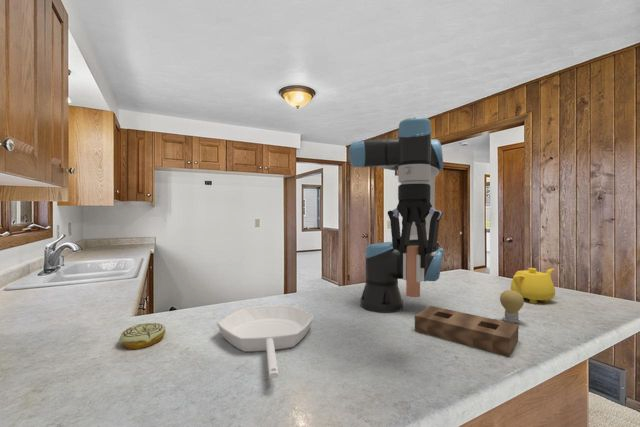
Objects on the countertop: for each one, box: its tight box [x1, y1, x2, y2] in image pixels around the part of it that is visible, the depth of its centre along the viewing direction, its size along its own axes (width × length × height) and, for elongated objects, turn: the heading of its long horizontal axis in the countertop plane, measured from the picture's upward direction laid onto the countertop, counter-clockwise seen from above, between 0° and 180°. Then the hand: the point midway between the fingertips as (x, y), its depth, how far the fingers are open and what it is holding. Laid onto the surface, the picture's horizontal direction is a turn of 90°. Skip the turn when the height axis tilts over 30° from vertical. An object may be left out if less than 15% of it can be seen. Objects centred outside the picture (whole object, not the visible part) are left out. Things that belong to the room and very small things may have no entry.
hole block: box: [414, 305, 519, 358], centre depth 86 cm, size 24×12×4 cm, turn 49°
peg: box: [405, 246, 421, 298], centre depth 75 cm, size 3×3×12 cm
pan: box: [216, 304, 316, 379], centre depth 80 cm, size 28×41×4 cm
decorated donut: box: [118, 322, 167, 350], centre depth 83 cm, size 10×11×4 cm
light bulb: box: [499, 289, 525, 324], centre depth 97 cm, size 6×6×10 cm
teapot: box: [510, 267, 556, 304], centre depth 121 cm, size 13×20×12 cm
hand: (413, 279), depth 75 cm, fingers closed on peg, 3 cm apart
